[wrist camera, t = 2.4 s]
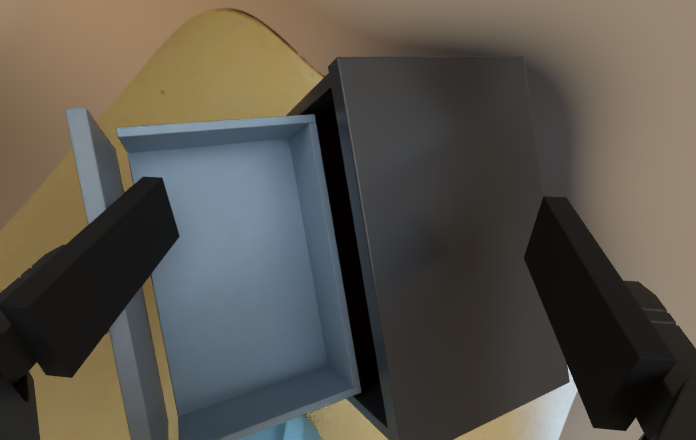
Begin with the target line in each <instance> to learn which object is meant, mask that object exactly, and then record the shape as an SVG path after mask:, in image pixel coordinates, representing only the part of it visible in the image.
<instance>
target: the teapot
mask: <svg viewBox="0 0 696 440" xmlns="http://www.w3.org/2000/svg"><path fill="white" fill-rule="evenodd" d="M240 440H322V439H321V437H320V435H319V433H318V431H317V429H316V428H315V426H314V425H313V423H312V422H311V421H310V420H309V419H308V418H307V417H306V416H305V415H302V416H299V417H297V418H294V419H292V420H289V421H286V422H284V423H281V424H279V425H276V426H274V427H271V428H268V429H266V430H263V431H261V432H258V433H255V434H253V435H250V436H248V437H245V438H243V439H240Z"/></svg>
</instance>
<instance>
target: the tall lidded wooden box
mask: <svg viewBox="0 0 696 440" xmlns="http://www.w3.org/2000/svg"><path fill="white" fill-rule="evenodd" d="M328 69H329V73H328V74H327V75H326V76H325V77H324V78H323V79H322V80H321V81H320V82H319V83H318V84H317V85H316V86H315V87H314V88H313V89H312V90H311V91H310V92H309V93H308V94H307V95H306V96H305V97H304V98H303V99H302V100H301V101H300V102H299V103H298V104H297V105H296V106H295V107H294V108H293V109H292V110H291V111H290V112H289V113H288V114H287V115H286V116H297V115H311V114H314V115H315V119H316V122H315V123H316V125H317V131H318V137H319V143H320V149H321V155H322V161H323V167H324V173H325V179H326V184H327V190H328V196H329V202H330V208H331V214H332V220H333V226H334V232H335V238H336V244H337V250H338V256H339V262H340V268H341V274H342V280H343V286H344V291H345V297H346V303H347V309H348V315H349V321H350V327H351V333H352V339H353V345H354V351H355V357H356V363H357V369H358V375H359V381H360V387H361V393H359V394H356V395H353V396H351V397H348V398H346V399H347V400H348V401H349V402H350V403H352V404H353V405H354V406H355V407H356V408H357V409H358V410H359V411H360V412H361V413H362V414H363V415H364V416H365V417H366V418H367V419H368V420H369V421H370V422H371V423H372V424H373V425H374V426H375V427H376V428H377V429H378V430H379V431H380V432H381V433H382V434H383V435H384V436H385V437H386V438H387V439H388V440H453V439H455V438H457V437H459V436H461V435H463V434H465V433H467V432H469V431H471V430H473V429H475V428H477V427H480V426H482V425H484V424H486V423H488V422H490V421H492V420H494V419H496V418H498V417H500V416H502V415H504V414H506V413H508V412H510V411H512V410H514V409H516V408H518V407H520V406H522V405H524V404H526V403H528V402H530V401H532V400H534V399H536V398H538V397H540V396H542V395H544V394H546V393H548V392H551V391H553V390H555V389H557V388H559V387H561V386H563V385H565V384H567V383H569V375H568V367H567V362H566V360H565V358H564V355H563V353H562V350H561V348H560V345H559V343H558V340H557V338H556V336H555V333H554V331H553V328H552V326H551V323H550V321H549V319H548V316H547V314H546V311H545V309H544V306H543V304H542V301H541V299H540V297H539V294H538V292H537V289H536V287H535V284H534V282H533V279H532V277H531V275H530V272H529V270H528V267H527V265H526V262H525V260H524V255H525V252H526V249H527V246H528V243H529V239H530V236H531V233H532V230H533V227H534V224H535V221H536V218H537V214H538V211H539V208H540V205H541V202H542V199H543V191H542V183H541V176H540V169H539V162H538V155H537V148H536V141H535V134H534V126H533V119H532V112H531V105H530V99H529V91H528V84H527V77H526V70H525V63H524V57H523V56H440V57H439V56H437V57H436V56H435V57H434V56H431V57H337V58H336V59H335V60H334V61H333V62H332V63H331V64H330V65H329V66H328Z"/></svg>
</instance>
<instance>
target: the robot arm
mask: <svg viewBox="0 0 696 440" xmlns="http://www.w3.org/2000/svg"><path fill="white" fill-rule="evenodd" d="M179 237H180V235H179V232H178V228H177V225H176V222H175V218H174V215H173V212H172V208H171V205H170V201H169V198H168V195H167V191H166V188H165V184H164V181H163V178H162V177H145V176H143V177H142V178H141V179H140V180H138V181H137V182H136V183H135V184H134V185H133V186H132V187H131V188H129V189H128V190H127V191H126V192H125V193H124V194H123V195H122V196H120V197H119V198H118V199H117V200H116V201H115V202H114V203H113V204H111V205H110V206H109V207H108V208H107V209H106V210H105V211H103V212H102V213H101V214H100V215H99V216H98V217H97V218H96V219H94V220H93V221H92V222H91V223H90V224H89V225H88V226H87V227H85V228H84V229H83V230H82V231H81V232H80V233H79V234H78V235H76V236H75V237H74V238H73V239H72V240H71V241H70V242H68V243H67V244H66V245H61V246H60V247H58V248H56V249H54V250H52V251H51V252H49V253H47V254H45V255H44V256H43V257H42V258H41V259H39V260H38V261H37V262H36V263H35V264H34V265H32V268H29V269H28V270H27V271H25V272H24V273H23V274H22V275H21V278H17V279H16V280H15V281H14V282H13V283H11V284H10V285H9V286H8V287H7V288H6V289H5V290H3V291H2V292H1V293H0V440H40V434H39V425H38V416H37V407H36V398H35V388H34V380H33V378H32V376H31V374H30V373H29V370H30V369H31V368H32V367H33V366H34V364H35V363H36V362H37V363H38V364H39V365H40V367H41V368H42V370H43V371H44V373H45V374H46V375H50V376H60V377H70V378H72V377H73V376H74V374H75V373H76V372H77V370H78V369H79V368H80V366H81V365H82V364H83V363H84V361H85V360H86V359H87V357H88V356H89V355H90V353H91V352H92V351H93V349H94V348H95V347H96V345H97V344H98V343H99V342H100V340H101V339H102V338H103V336H104V335H105V334H106V332H107V331H108V330H109V328H110V327H111V326H112V325H113V323H114V322H115V321H116V319H117V318H118V317H119V315H120V314H121V313H122V311H123V310H124V309H125V307H126V306H127V305H128V304H129V302H130V301H131V300H132V298H133V297H134V296H135V294H136V293H137V292H138V290H139V289H140V288H141V287H142V285H143V284H144V283H145V281H146V280H147V279H148V277H149V276H150V275H151V273H152V272H153V271H154V270H155V268H156V267H157V266H158V264H159V263H160V262H161V260H162V259H163V258H164V256H165V255H166V254H167V252H168V251H169V250H170V249H171V247H172V246H173V245H174V243H175V242H176V241H177V239H178V238H179ZM524 260H525V262H526V265H527V267H528V270H529V272H530V275H531V277H532V279H533V282H534V284H535V287H536V289H537V292H538V294H539V297H540V299H541V301H542V304H543V306H544V309H545V311H546V314H547V316H548V319H549V321H550V323H551V326H552V328H553V331H554V333H555V336H556V338H557V340H558V343H559V345H560V348H561V350H562V353H563V355H564V358H565V360H566V362H567V365H568V367H569V370H570V372H571V375H572V377H573V380H574V382H575V384H576V387H577V389H578V392H579V394H580V397H581V399H582V401H583V404H584V406H585V409H586V411H587V414H588V416H589V419H590V421H591V423H592V426H593V427H594V428H600V429H601V428H602V429H610V430H622V431H626V430H627V429H628V427H629V426H630V425H631V423H632V422H633V421H634V419H635V418H637V420H638V422H639V424H640V426H641V428H642V430H643V432H644V434H643V435H642V436H641V437H640V439H639V440H696V349H695V347H694V346H693V344H692V343H691V342H690V341H689V339H688V338H687V336H686V335H685V334H684V333H683V331H682V330H681V328H680V327H679V326H676V322H675V321H674V319H673V318H672V317H671V315H670V314H669V313H667V310H666V308H665V307H664V306H663V304H662V303H661V302H660V300H659V299H658V298H657V296H656V295H655V294H653V293H652V292H651V291H649V290H648V289H647V288H646V287H644V286H643V285H642V284H641V283H639V282H634V281H623V280H622V278H621V277H620V276H619V274H618V273H617V271H616V270H615V268H614V267H613V265H612V264H611V262H610V261H609V260H608V258H607V256H606V255H605V254H604V252H603V251H602V249H601V248H600V246H599V245H598V243H597V242H596V240H595V239H594V237H593V236H592V234H591V233H590V232H589V230H588V229H587V228H586V226H585V224H584V223H583V221H582V220H581V219H580V217H579V215H578V214H577V213H576V211H575V210H574V208H573V207H572V205H571V204H570V202H569V201H568V199H567V198H566V197H545V196H543V199H542V202H541V205H540V208H539V211H538V214H537V218H536V221H535V224H534V227H533V230H532V233H531V236H530V239H529V243H528V246H527V249H526V252H525V255H524Z"/></svg>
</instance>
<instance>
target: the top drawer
mask: <svg viewBox="0 0 696 440" xmlns="http://www.w3.org/2000/svg"><path fill="white" fill-rule="evenodd" d="M65 111H66V117H67V122H68V127H69V132H70V137H71V142H72V147H73V152H74V157H75V162H76V167H77V172H78V177H79V182H80V187H81V192H82V197H83V202H84V207H85V212H86V217H87V222H88V225H89V224H90V223H91V222H92V221H93V220H94V219H96V218H97V217H98V216H99V215H100V214H101V213H102V212H103V211H105V210H106V209H107V208H108V207H109V206H110V205H111V204H113V203H114V202H115V201H116V200H117V199H118V198H119V197H120V196H122V195H123V194H124V190H123V185H122V180H121V175H120V170H119V165H118V159H117V154H116V149H115V148H114V146H113V145H112V144H111V142H110V141H109V139H108V138H107V137H106V135H105V134H104V132H103V131H102V130H101V128H100V127H99V125H98V124H97V123H96V121H95V120H94V118H93V117H92V116H91V115H90V113H89V112H88V110H87V109H86V108H67V109H65ZM315 122H316V119H315V115H314V114H311V115H297V116H282V117H267V118H252V119H238V120H223V121H208V122H193V123H179V124H164V125H149V126H134V127H120V128H116V130H117V135H118V138H119V139H120V141H121V143H122V145H123V146H124V148H125V150H126V151H127V154H128V159H129V165H130V170H131V175H132V180H133V185H134V184H135V183H136V182H137V181H138V180H140V179H141V178H142V177H143V176H145V177H162V178H163V181H164V184H165V188H166V191H167V195H168V198H169V201H170V205H171V208H172V212H173V215H174V218H175V222H176V225H177V228H178V232H179V235H180V237H179V238H178V239H177V241H176V242H175V243H174V245H173V246H172V247H171V249H170V250H169V251H168V252H167V254H166V255H165V256H164V258H163V259H162V260H161V262H160V263H159V264H158V266H157V267H156V268H155V270H154V271H153V272H152V273H151V279H152V284H153V289H154V294H155V300H156V305H157V310H158V315H159V320H160V326H161V331H162V336H163V341H164V346H165V351H166V357H167V362H168V367H169V372H170V377H171V383H172V388H173V393H174V398H175V403H176V409H177V414H178V430H179V440H240V439H243V438H245V437H248V436H250V435H253V434H255V433H258V432H261V431H263V430H266V429H268V428H271V427H274V426H276V425H279V424H281V423H284V422H286V421H289V420H292V419H294V418H297V417H299V416H302V415H304V414H307V413H310V412H312V411H315V410H317V409H320V408H323V407H325V406H328V405H330V404H333V403H335V402H338V401H341V400H343V399H346V398H348V397H351V396H353V395H356V394H359V393H361V387H360V381H359V375H358V369H357V363H356V357H355V351H354V345H353V339H352V333H351V327H350V321H349V315H348V309H347V303H346V297H345V291H344V286H343V280H342V274H341V268H340V262H339V256H338V250H337V244H336V238H335V232H334V226H333V220H332V214H331V208H330V202H329V196H328V190H327V184H326V179H325V173H324V167H323V161H322V155H321V149H320V143H319V137H318V131H317V125H316V123H315ZM108 332H109V333H110V338H111V343H112V348H113V353H114V358H115V363H116V368H117V373H118V378H119V383H120V388H121V393H122V398H123V403H124V408H125V413H126V418H127V423H128V428H129V433H130V438H131V440H168V417H167V412H166V407H165V402H164V396H163V391H162V386H161V381H160V376H159V371H158V366H157V360H156V355H155V350H154V345H153V340H152V335H151V329H150V324H149V319H148V314H147V309H146V304H145V299H144V293H143V288H142V287H141V288H140V289H139V290H138V292H137V293H136V294H135V296H134V297H133V298H132V300H131V301H130V302H129V304H128V305H127V306H126V307H125V309H124V310H123V311H122V313H121V314H120V315H119V317H118V318H117V319H116V321H115V322H114V323H113V325H112V326H111V327H110V328H109V330H108V331H107V332H106V333H108Z"/></svg>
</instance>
